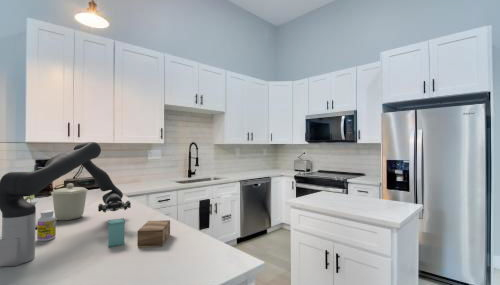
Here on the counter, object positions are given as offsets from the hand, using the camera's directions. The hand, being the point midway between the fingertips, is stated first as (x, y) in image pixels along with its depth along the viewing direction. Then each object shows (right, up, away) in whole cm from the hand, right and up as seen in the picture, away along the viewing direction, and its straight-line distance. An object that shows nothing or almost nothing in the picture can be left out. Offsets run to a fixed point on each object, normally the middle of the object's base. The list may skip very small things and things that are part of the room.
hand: (115, 209), depth 119 cm
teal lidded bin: (+6, -13, -10) cm, 17 cm away
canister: (-44, -14, +29) cm, 54 cm away
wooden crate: (+22, -13, -7) cm, 26 cm away
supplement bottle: (-30, -13, -4) cm, 33 cm away
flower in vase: (-51, -13, +11) cm, 54 cm away
